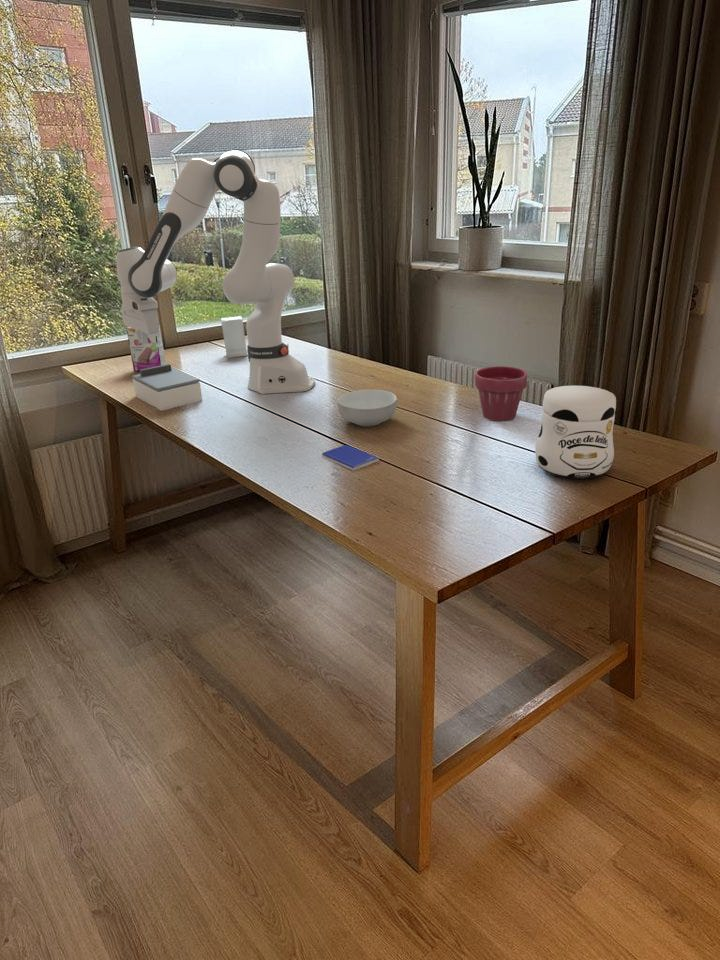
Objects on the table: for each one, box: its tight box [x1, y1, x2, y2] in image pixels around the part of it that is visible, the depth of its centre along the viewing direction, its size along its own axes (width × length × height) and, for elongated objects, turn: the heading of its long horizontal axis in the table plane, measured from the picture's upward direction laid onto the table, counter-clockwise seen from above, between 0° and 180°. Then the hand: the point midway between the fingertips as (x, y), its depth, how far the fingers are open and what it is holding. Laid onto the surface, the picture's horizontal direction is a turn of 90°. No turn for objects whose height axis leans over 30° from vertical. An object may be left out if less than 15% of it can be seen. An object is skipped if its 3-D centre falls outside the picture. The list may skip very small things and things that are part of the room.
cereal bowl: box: [337, 388, 398, 427], centre depth 190 cm, size 17×17×7 cm
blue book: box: [321, 444, 380, 471], centre depth 167 cm, size 2×8×12 cm
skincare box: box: [220, 315, 248, 359], centre depth 263 cm, size 8×6×15 cm
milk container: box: [534, 385, 617, 480], centre depth 153 cm, size 17×17×18 cm
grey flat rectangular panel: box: [131, 363, 201, 391], centre depth 215 cm, size 20×14×3 cm
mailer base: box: [132, 378, 203, 412], centre depth 217 cm, size 20×14×6 cm
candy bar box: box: [126, 324, 167, 373], centre depth 247 cm, size 11×5×16 cm, turn 84°
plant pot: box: [474, 365, 528, 422], centre depth 189 cm, size 14×14×13 cm
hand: (143, 343), depth 220 cm, fingers closed
